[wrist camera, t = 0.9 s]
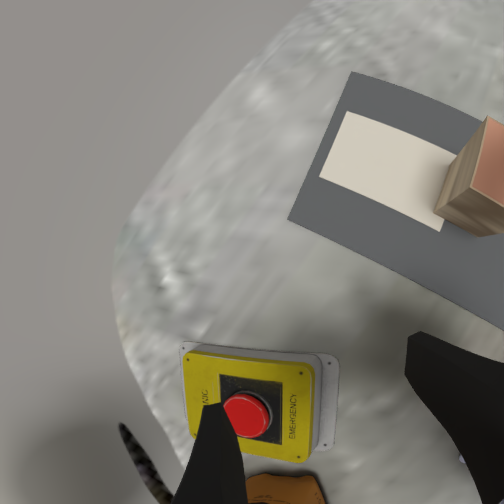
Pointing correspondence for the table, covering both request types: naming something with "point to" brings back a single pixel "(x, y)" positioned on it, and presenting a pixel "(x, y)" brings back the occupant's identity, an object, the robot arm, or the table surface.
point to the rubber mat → (400, 193)
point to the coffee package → (283, 490)
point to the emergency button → (264, 396)
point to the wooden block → (476, 183)
